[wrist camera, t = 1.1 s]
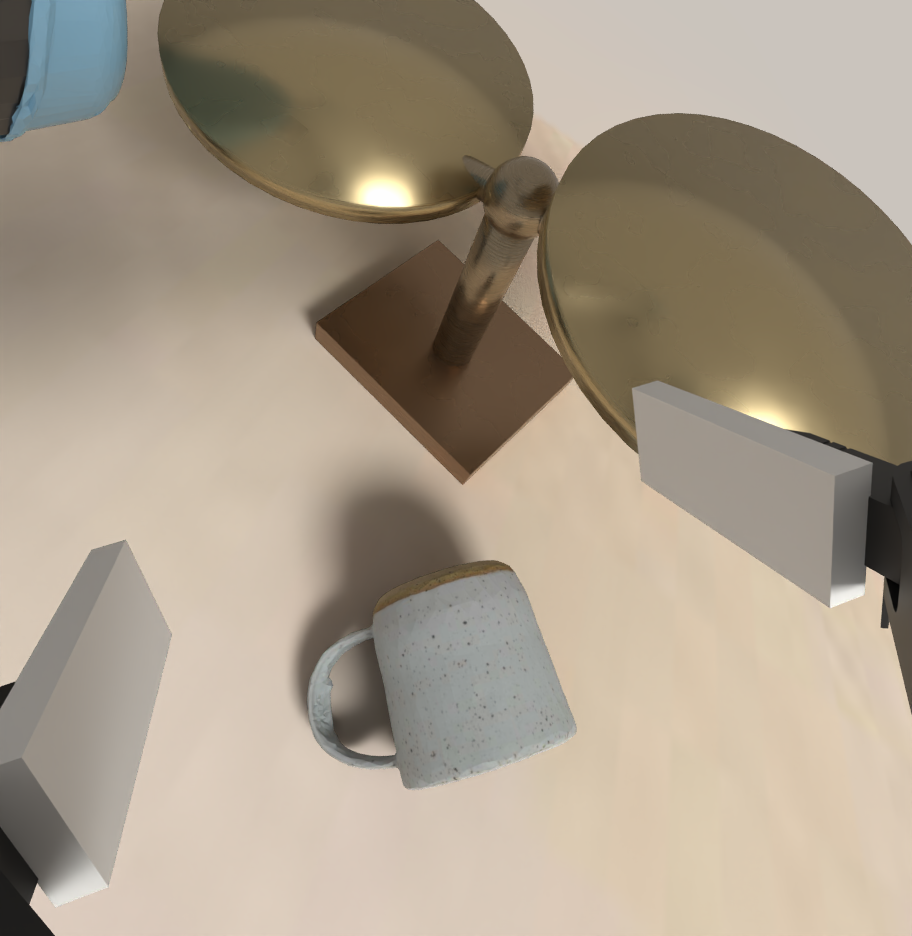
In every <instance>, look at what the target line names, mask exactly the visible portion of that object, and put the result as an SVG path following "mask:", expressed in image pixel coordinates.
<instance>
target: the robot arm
mask: <svg viewBox="0 0 912 936" xmlns="http://www.w3.org/2000/svg"><path fill="white" fill-rule="evenodd" d="M126 61H127V11H126V0H0V142H5V141H12V140H13V139H14V138H17V137H19V136H22V135H23V134H24V133H25V131H29V130H34V129H40V128H45V127H50V126H55V125H60V124H66V123H71V122H76V121H81V120H86V119H90V118H92V117H94V116H96V115H98V114H100V113H101V112H103V111H104V110H105V108H106V107H107V106H108V104H109V103H110V102H111V101H112V100H114V99H115V97H116V96H117V95H118V93H119V91H120V88H121V86H122V83H123V79H124V74H125V69H126ZM632 394H633V404H634V414H635V424H636V434H637V444H638V453H639V463H640V473H641V481H642V482H644V483H645V484H647V485H648V486H650V487H651V488H653V489H654V490H656V491H657V492H658V493H660V494H661V495H663V496H664V497H666V498H667V499H669V500H670V501H672V502H673V503H675V504H676V505H678V506H679V507H681V508H682V509H684V510H685V511H687V512H688V513H690V514H691V515H693V516H694V517H696V518H697V519H699V520H700V521H702V522H703V523H705V524H706V525H707V526H709V527H710V528H712V529H713V530H715V531H716V532H718V533H719V534H721V535H722V536H724V537H725V538H727V539H728V540H730V541H731V542H733V543H734V544H736V545H737V546H739V547H740V548H742V549H743V550H745V551H746V552H748V553H749V554H751V555H752V556H754V557H755V558H756V559H758V560H759V561H761V562H762V563H764V564H765V565H767V566H768V567H770V568H771V569H773V570H774V571H776V572H777V573H779V574H780V575H782V576H783V577H785V578H786V579H788V580H789V581H791V582H792V583H794V584H795V585H797V586H798V587H800V588H801V589H803V590H804V591H805V592H807V593H808V594H810V595H811V596H813V597H814V598H816V599H817V600H819V601H820V602H822V603H823V604H825V605H826V606H828V607H829V608H832V607H834V606H837V605H839V604H842V603H845V602H847V601H850V600H852V599H855V598H857V597H860V596H863V595H865V579H866V566H867V567H869V568H870V569H872V570H874V571H876V572H878V573H879V574H881V575H883V576H885V577H884V590H883V603H882V616H881V628H888V625H889V621H890V625H891V629H892V634H893V638H894V642H895V646H896V650H897V655H898V659H899V663H900V667H901V671H902V676H903V680H904V684H905V688H906V692H907V697H908V701H909V705H910V709H911V713H912V461H908V462H905V463H901V464H900V465H898V466H897V465H894V464H892V463H889V462H886V461H884V460H881V459H878V458H876V457H873V456H870V455H868V454H865V453H862V452H860V451H857V450H854V449H851V448H849V449H847V448H846V446H843V445H841V444H838V443H835V442H832V443H831V442H830V440H827V439H825V438H822V437H819V436H817V435H814V434H811V433H807V432H801V431H794V430H788V429H783V428H780V427H778V426H775V425H773V424H770V423H767V422H765V421H762V420H760V419H757V418H754V417H752V416H749V415H746V414H744V413H741V412H739V411H736V410H733V409H731V408H728V407H726V406H723V405H720V404H718V403H715V402H713V401H710V400H707V399H705V398H702V397H700V396H697V395H694V394H692V393H689V392H687V391H684V390H681V389H679V388H676V387H673V386H671V385H668V384H666V383H663V382H660V381H654V382H651V383H648V384H644V385H641V386H638V387H634V388H632ZM171 637H172V633H171V631H170V629H169V627H168V625H167V623H166V621H165V619H164V617H163V615H162V613H161V611H160V609H159V607H158V605H157V603H156V600H155V598H154V596H153V594H152V592H151V590H150V588H149V586H148V584H147V582H146V580H145V578H144V576H143V574H142V572H141V570H140V567H139V565H138V563H137V561H136V559H135V557H134V555H133V553H132V551H131V549H130V547H129V545H128V543H127V541H126V540H123V541H120V542H117V543H113V544H110V545H107V546H103V547H100V548H97V549H93V550H91V552H90V553H89V555H88V557H87V559H86V560H85V562H84V564H83V566H82V567H81V569H80V571H79V573H78V574H77V576H76V578H75V579H74V581H73V583H72V585H71V586H70V588H69V590H68V592H67V593H66V595H65V597H64V599H63V600H62V602H61V604H60V606H59V607H58V609H57V611H56V613H55V614H54V616H53V618H52V620H51V621H50V623H49V625H48V627H47V628H46V630H45V632H44V634H43V635H42V637H41V639H40V641H39V642H38V644H37V646H36V647H35V649H34V651H33V653H32V654H31V656H30V658H29V660H28V661H27V663H26V665H25V667H24V668H23V670H22V672H21V674H20V675H19V677H18V679H17V681H16V682H13V683H10V684H7V685H4V686H1V687H0V936H55V935H54V934H53V933H52V932H51V930H50V929H49V928H48V927H47V926H46V924H45V923H44V922H43V921H42V920H41V918H40V917H39V916H38V915H37V914H36V912H35V911H34V910H33V909H32V908H31V906H30V905H29V904H30V901H31V898H32V896H33V893H34V890H35V887H36V885H37V883H38V884H39V886H40V887H41V889H42V890H43V891H44V893H45V894H46V895H47V897H48V898H49V899H50V901H51V902H52V903H53V905H54V906H55V908H56V907H58V906H61V905H63V904H66V903H69V902H71V901H74V900H76V899H79V898H82V897H84V896H87V895H89V894H92V893H94V892H97V891H100V890H102V889H105V888H107V887H109V883H110V879H111V875H112V871H113V867H114V863H115V859H116V855H117V851H118V847H119V843H120V839H121V835H122V831H123V827H124V823H125V819H126V815H127V811H128V807H129V803H130V800H131V796H132V792H133V788H134V784H135V780H136V776H137V772H138V768H139V764H140V760H141V756H142V752H143V748H144V744H145V740H146V736H147V732H148V728H149V724H150V720H151V716H152V712H153V708H154V704H155V700H156V696H157V692H158V688H159V684H160V680H161V676H162V672H163V669H164V665H165V661H166V657H167V653H168V649H169V645H170V641H171Z"/></svg>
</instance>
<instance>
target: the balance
mask: <svg viewBox="0 0 912 936" xmlns="http://www.w3.org/2000/svg"><path fill="white" fill-rule="evenodd" d="M158 42H159V51H160V57H161V63H162V68H163V74H164V78H165V81H166V85H167V88H168V91H169V95H170V97H171V99H172V101H173V103H174V105H175V107H176V109H177V111H178V113H179V115H180V116H181V118H182V119H183V121H184V122H185V124H186V125H187V126H188V128H189V129H190V131H191V132H192V134H193V135H194V136H195V137H196V138H197V139H198V140H199V141H200V142H201V144H202V145H203V146H204V147H205V148H206V149H207V150H208V151H209V152H210V153H211V154H212V155H213V156H215V157H216V158H217V159H218V160H219V161H220V162H221V163H223V164H224V165H225V166H226V167H227V168H229V169H230V170H231V171H233V172H234V173H236V174H237V175H239V176H240V177H242V178H243V179H245V180H246V181H247V182H249V183H250V184H252V185H254V186H256V187H258V188H260V189H261V190H263V191H265V192H267V193H269V194H271V195H272V196H274V197H277V198H279V199H281V200H284V201H286V202H289V203H291V204H293V205H296V206H298V207H301V208H304V209H307V210H310V211H313V212H317V213H320V214H323V215H327V216H331V217H336V218H341V219H346V220H351V221H359V222H368V223H378V224H403V223H412V222H421V221H428V220H433V219H437V218H441V217H445V216H449V215H452V214H454V213H457V212H460V211H462V210H465V209H467V208H469V207H471V206H473V205H475V204H476V203H478V202H480V201H481V202H483V206H484V211H485V214H484V217H483V219H482V222H481V224H480V227H479V229H478V232H477V234H476V237H475V239H474V242H473V244H472V247H471V249H470V252H469V254H468V257H467V259H466V262H465V264H463V263H462V262H461V261H460V260H459V259H458V258H457V257H456V256H455V255H454V254H453V253H451V252H450V251H449V250H448V249H447V248H446V247H445V246H444V245H443V244H442V243H441V242H440V241H439V240H437V241H436V242H434V243H433V244H431V245H430V246H428V247H427V248H426V249H424V250H423V251H421V252H420V253H418V254H417V255H415V256H414V257H412V258H411V259H409V260H408V261H406V262H405V263H403V264H402V265H401V266H399V267H398V268H396V269H395V270H393V271H392V272H390V273H389V274H387V275H386V276H384V277H383V278H381V279H380V280H378V281H377V282H376V283H374V284H373V285H371V286H370V287H368V288H367V289H365V290H364V291H362V292H361V293H359V294H358V295H356V296H355V297H353V298H352V299H351V300H349V301H348V302H346V303H345V304H343V305H342V306H340V307H339V308H337V309H336V310H334V311H333V312H331V313H330V314H328V315H327V316H326V317H324V318H323V319H321V320H320V321H318V322H317V323H316V335H315V339H316V340H317V341H318V342H319V343H320V344H321V345H322V346H323V347H324V348H325V349H326V350H327V351H328V352H329V353H330V354H331V355H332V356H333V357H334V358H335V359H336V360H337V361H338V362H339V363H340V364H341V365H342V366H343V367H344V368H345V369H346V370H347V371H348V372H350V373H351V374H352V375H353V376H354V377H355V378H356V379H357V380H358V381H359V382H360V383H361V384H362V385H363V386H364V387H365V388H366V389H367V390H368V391H369V392H370V393H371V394H372V395H373V396H374V397H375V398H376V399H377V400H378V401H379V402H380V403H381V404H382V405H383V406H384V407H385V408H386V409H387V410H388V411H389V412H390V413H391V414H392V415H393V416H394V417H395V418H396V419H397V420H398V421H399V422H400V423H401V424H402V425H403V426H404V427H405V428H406V429H407V430H408V431H409V432H410V433H411V434H412V435H413V436H414V437H415V438H416V439H417V440H418V441H419V442H420V443H421V444H422V445H423V446H424V447H425V448H426V449H427V450H428V451H429V452H430V453H431V454H432V455H433V456H434V457H435V458H436V459H437V460H438V461H439V462H440V463H441V464H442V465H443V466H444V467H445V468H446V469H447V470H448V471H449V472H450V473H451V474H452V475H453V476H454V477H455V478H456V479H457V480H458V481H459V482H460V483H461V484H462V485H463V484H464V483H465V482H466V481H467V480H468V479H469V478H470V477H472V476H473V475H474V474H475V473H476V472H477V471H478V470H479V469H480V468H481V467H482V466H483V465H484V464H485V463H486V462H487V461H488V460H489V459H490V458H491V457H493V456H494V455H495V454H496V453H497V452H498V451H499V450H500V449H501V448H502V447H503V446H504V445H505V444H506V443H507V442H508V441H509V440H510V439H511V438H512V437H514V436H515V435H516V434H517V433H518V432H519V431H520V430H521V429H522V428H523V427H524V426H525V425H526V424H527V423H528V422H529V421H530V420H531V419H532V418H533V417H534V416H536V415H537V414H538V413H539V412H540V411H541V410H542V409H543V408H544V407H545V406H546V405H547V404H548V403H549V402H550V401H551V400H552V399H553V398H554V397H555V396H557V395H558V394H559V393H560V392H561V391H562V390H563V389H564V388H565V387H566V386H567V385H568V384H569V383H570V381H571V380H572V379H573V378H574V379H575V381H576V383H577V384H578V386H579V388H580V389H581V391H582V392H583V394H584V395H585V396H586V398H587V399H588V400H589V402H590V403H591V404H592V405H593V407H594V408H595V409H596V411H597V412H598V413H599V415H600V416H601V417H602V419H603V420H604V421H605V422H606V423H607V424H608V425H609V426H610V427H611V428H612V429H613V430H614V431H615V432H616V433H617V434H618V436H619V437H620V438H621V439H622V440H623V441H624V442H625V443H626V444H627V445H628V446H629V447H630V448H632V449H633V450H634V451H635V452H636V453H637V454H639V453H638V444H637V434H636V424H635V414H634V404H633V394H632V388H634V387H638V386H641V385H644V384H648V383H651V382H654V381H660V382H663V383H666V384H668V385H671V386H673V387H676V388H679V389H681V390H684V391H687V392H689V393H692V394H694V395H697V396H700V397H702V398H705V399H707V400H710V401H713V402H715V403H718V404H720V405H723V406H726V407H728V408H731V409H733V410H736V411H739V412H741V413H744V414H746V415H749V416H752V417H754V418H757V419H760V420H762V421H765V422H767V423H770V424H773V425H775V426H778V427H780V428H783V429H788V430H794V431H801V432H807V433H811V434H814V435H817V436H819V437H822V438H825V439H827V440H830V442H831V443H832V442H835V443H838V444H841V445H843V446H846V448H847V449H849V448H851V449H854V450H857V451H860V452H862V453H865V454H868V455H870V456H873V457H876V458H878V459H881V460H884V461H886V462H889V463H892V464H894V465H897V466H898V465H900V464H901V463H905V462H908V461H912V245H911V244H910V242H909V241H908V240H907V238H906V237H905V236H904V235H903V233H902V232H901V231H900V229H899V228H898V227H897V226H896V225H895V224H894V223H893V222H892V221H891V220H890V218H889V217H888V216H887V215H886V214H885V213H884V212H883V211H882V210H881V209H880V208H879V207H878V206H877V205H876V204H875V203H874V202H873V201H872V200H871V199H870V198H868V197H867V196H866V195H865V194H864V193H863V192H862V191H861V190H860V189H859V188H857V187H856V186H855V185H853V184H852V183H851V182H850V181H849V180H847V179H846V178H845V177H844V176H842V175H841V174H840V173H838V172H837V171H836V170H834V169H833V168H831V167H830V166H828V165H827V164H825V163H824V162H822V161H821V160H820V159H818V158H816V157H815V156H813V155H811V154H809V153H807V152H806V151H804V150H803V149H801V148H799V147H797V146H795V145H794V144H791V143H789V142H787V141H785V140H783V139H781V138H779V137H777V136H775V135H773V134H770V133H767V132H765V131H762V130H760V129H757V128H754V127H752V126H749V125H745V124H742V123H738V122H735V121H731V120H727V119H723V118H717V117H712V116H706V115H699V114H698V115H697V114H683V113H674V114H657V115H652V116H646V117H642V118H637V119H633V120H630V121H628V122H625V123H622V124H619V125H616V126H614V127H613V128H611V129H609V130H607V131H605V132H604V133H602V134H600V135H598V136H597V137H596V138H595V139H593V140H592V141H591V142H590V143H589V144H588V145H586V146H585V147H584V148H583V149H582V150H581V151H580V152H579V153H578V154H577V156H576V157H575V158H574V159H573V161H572V162H571V163H570V164H569V166H568V168H567V169H566V171H565V173H564V175H563V177H562V179H561V181H560V183H559V182H558V180H557V178H556V176H555V174H554V172H553V171H552V170H551V169H550V167H549V166H548V165H546V164H545V163H544V162H542V161H540V160H538V159H536V158H533V157H527V156H520V155H521V153H522V150H523V148H524V146H525V143H526V141H527V138H528V135H529V132H530V130H531V125H532V118H533V94H532V89H531V84H530V80H529V77H528V74H527V71H526V68H525V65H524V63H523V61H522V59H521V57H520V55H519V53H518V51H517V50H516V48H515V46H514V45H513V43H512V42H511V41H510V39H509V38H508V36H507V34H506V33H505V32H504V31H503V29H502V28H501V27H500V26H499V25H498V23H497V22H496V21H495V20H494V19H493V18H492V17H491V16H490V15H489V14H488V13H487V12H486V11H485V10H484V9H483V8H482V7H481V6H480V5H479V4H478V3H477V2H475V1H474V0H164V3H163V6H162V9H161V12H160V15H159V25H158ZM537 236H539V241H538V248H537V274H538V283H539V289H540V295H541V301H542V306H543V309H544V312H545V315H546V319H547V322H548V325H549V328H550V331H551V334H552V336H553V339H554V341H555V343H556V345H557V347H558V350H559V352H560V354H561V356H562V357H561V356H560V355H559V354H558V353H557V352H556V351H555V350H554V349H553V348H552V347H550V346H549V345H548V344H547V343H546V342H545V341H544V340H543V339H542V338H541V337H540V336H539V335H538V334H537V333H536V332H535V331H534V330H533V329H532V328H530V327H529V326H528V325H527V324H526V323H525V322H524V321H523V320H522V319H521V318H520V317H519V316H518V315H517V314H516V313H515V312H514V311H513V310H512V309H510V308H509V307H508V306H507V305H506V304H505V303H504V302H503V301H502V299H503V297H504V295H505V293H506V291H507V289H508V287H509V286H510V284H511V282H512V280H513V278H514V276H515V274H516V272H517V270H518V268H519V266H520V264H521V263H522V261H523V259H524V257H525V255H526V253H527V251H528V249H529V247H530V245H531V243H532V241H533V240H534V238H535V237H537Z"/></svg>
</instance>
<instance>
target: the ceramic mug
mask: <svg viewBox="0 0 912 936" xmlns="http://www.w3.org/2000/svg"><path fill="white" fill-rule="evenodd" d="M372 638H374V644H375V650H376V655H377V659H378V663H379V667H380V671H381V675H382V679H383V684H384V688H385V694H386V700H387V706H388V711H389V716H390V722H391V728H392V732H393V738H394V743H395V746H396V754H395V755H392V756H369V755H364V754H359V753H357V752H354V751H352V750H350V749H348V748H347V747H345V746H344V745H343V744H341V743H340V741H339V740H338V737H337V735H336V733H335V732H334V728H333V719H332V711H331V703H330V692H331V689H332V686H333V684H332V681H331V679H330V678H329V674H330V672H331V669H332V667H333V666H334V664H335V663H336V662H337V661H338V659H339V658H340V656H341V655H342V654H343V653H345V652H346V651H348V650H350V649H351V648H352V647H353V646H355V645H357V644H359V643H361V642H363V641H365V640H368V639H372ZM307 707H308V716H309V723H310V726H311V729H312V732H313V735H314V737H315V739H316V741H317V742H318V744H319V745H320V746H321V748H322V749H323V750H324V751H325V752H326V753H328V754H329V755H330V756H332V757H333V758H335V759H337V760H338V761H340V762H342V763H344V764H347V765H348V766H352V767H357V768H362V769H389V768H398V769H399V770H400V773H401V778H402V781H403V785H404V786H405V788H407V789H409V790H415V789H416V790H421V789H425V788H431V787H436V786H440V785H444V784H448V783H452V782H456V781H460V780H463V779H466V778H469V777H473V776H477V775H480V774H483V773H486V772H489V771H493V770H496V769H499V768H501V767H504V766H507V765H510V764H512V763H515V762H519V761H521V760H523V759H526V758H529V757H531V756H533V755H536V754H538V753H541V752H543V751H546V750H549V749H551V748H554V747H556V746H559V745H561V744H563V743H565V742H566V741H568V740H569V739H570V738H571V737H573V736H574V735H575V734H576V724H575V721H574V718H573V716H572V713H571V711H570V708H569V706H568V703H567V700H566V697H565V695H564V693H563V690H562V687H561V685H560V682H559V679H558V676H557V673H556V671H555V668H554V665H553V663H552V660H551V658H550V655H549V652H548V649H547V647H546V645H545V642H544V640H543V637H542V634H541V632H540V629H539V627H538V624H537V622H536V618H535V615H534V612H533V610H532V607H531V604H530V601H529V599H528V596H527V593H526V591H525V589H524V587H523V586H522V584H521V582H520V581H519V579H518V577H517V575H516V573H515V572H514V571H513V570H512V569H511V567H510V566H508V565H506V564H504V563H502V562H499V561H494V560H491V561H478V562H472V563H467V564H462V565H457V566H453V567H450V568H447V569H443V570H440V571H437V572H434V573H431V574H428V575H425V576H422V577H419V578H416V579H414V580H412V581H409V582H407V583H404V584H402V585H400V586H398V587H396V588H394V589H392V590H390V591H389V592H387V593H385V594H384V595H383V596H382V597H381V598H380V599H379V601H378V602H377V604H376V606H375V608H374V610H373V624H372V625H371V627H369V628H366V629H362V630H359V631H356V632H352V633H350V634H349V635H347V636H346V637H344V638H341V639H339V640H338V641H337V642H336V643H334V644H333V645H332V646H331V647H329V648H328V649H327V650H326V651H325V652H324V653H323V654H322V656H321V658H320V659H319V661H318V662H317V664H316V666H315V668H314V670H313V673H312V675H311V677H310V680H309V686H308V692H307Z"/></svg>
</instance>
